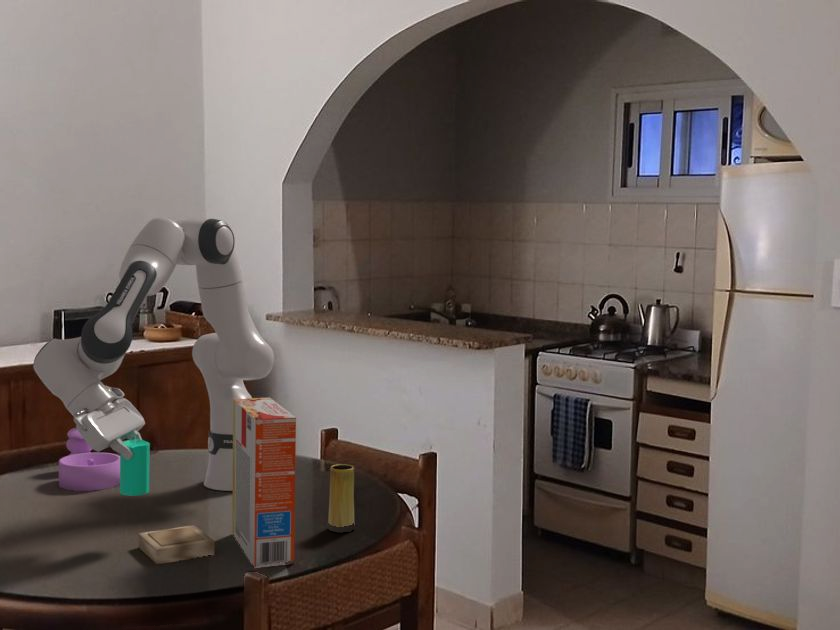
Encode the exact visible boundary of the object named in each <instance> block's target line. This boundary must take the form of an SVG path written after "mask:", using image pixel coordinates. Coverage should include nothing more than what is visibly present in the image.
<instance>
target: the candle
mask: <svg viewBox="0 0 840 630" xmlns="http://www.w3.org/2000/svg"><path fill="white" fill-rule="evenodd" d="M139 442H140V443H139ZM122 443H123V444H124V445H125V446H127V447H128V448H130V449H131V450H132V451H133V452H134V456H132V457H131V458H130V459H129V460H127V459H125V457H124V456H123V455H122V454H120V453H119V454H120V455H119V456H120V485H119V493H120V495H124V496H130V497H133V496H143V495H147V494H148V493H149V492H150V456H151V455H150V454H151V453H150V449H151V448H150V447H151V443H150V442H148V441H146V440H144V439H142V440H139V439H134V440H129V439H127V440H122Z"/></svg>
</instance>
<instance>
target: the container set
mask: <svg viewBox="0 0 840 630" xmlns="http://www.w3.org/2000/svg"><path fill="white" fill-rule="evenodd" d="M76 425H77V424H76V423H75V426H76ZM66 435H67V437H68V439H67V441H66V445H65V446H66V448H67V450H68V451H69V452H71V453H69V454H68V455H66V456H62V457H61V458H59V460H58V486H59V488H61V489H62V488H63V490H65V489H66V491H70V490H74V491H73V492H94V491H93V490H98V491H102V490H101V489H105V490H107V489H106V488H109V489H112V488H111V487H113V488H115V487H114V486H116V487H118V486H119V485H118V484H120V455H118V454H116V453H111V452H91V451H92V450H93V449H92V448H91V447H90V446H89V445H88V443H87V442H86V441H85V440H84V438H83V437H82V436H81V434H80V433H79V432H78V430H77V428H76V427H74V428H71V429H70V430H68V432H67V434H66ZM117 485H118V486H117Z"/></svg>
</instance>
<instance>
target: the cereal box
mask: <svg viewBox="0 0 840 630" xmlns="http://www.w3.org/2000/svg"><path fill="white" fill-rule="evenodd" d="M296 437H297V417H296V416H295V415H293V414H292V413H291V412H290V411H288V410H287V409H286V408H284V406H282V405H281V404H279V403H278V402H277V401H275V399H272V398H271V397H252V398H247V399H233V491H232V501H231V502H232V503H231V504H232V505H231V507H232V512H231V513H232V515H231V516H232V517H231V519H232V520H231V521H232V523H231V527H232V530H231V533H233V535H234V536H233V535H232V536H233V538H234V537H235V538H236V539H235V538H234V539H235V541H236V540H237V541H238V543H239V544H240V546H241V547H242V549H243V550H244V552H245V553H246V555H247V556H248V558H249V559H250V561H251V562H252V564H253V565H254V567H256V566H261V565H267V564H274V563H280V562H288V561H294V562H295V534H296V533H295V530H296V529H295V527H296V526H295V525H296V524H295V523H296V521H295V520H296V519H295V517H296V514H295V513H296V457H297V456H296V449H297V447H296V444H297V443H296V442H297V438H296ZM237 541H236V542H237ZM238 543H237V544H238ZM239 544H238V545H239ZM240 546H239V547H240ZM241 547H240V548H241ZM242 549H241V550H242ZM243 550H242V551H243ZM244 552H243V553H244ZM246 555H245V556H246ZM248 558H247V559H248ZM250 561H249V562H250ZM252 564H251V565H252Z"/></svg>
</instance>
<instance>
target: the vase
mask: <svg viewBox="0 0 840 630" xmlns="http://www.w3.org/2000/svg"><path fill="white" fill-rule="evenodd" d="M329 475H330V476H329V499H328V500H329V501H328V503H329V504H328V516H327V517H328V518H327V519H328V521H327V524H328V523H329V524H330V525H332V526H336V527H344V526H349V525H352V524H353V523H354V524H355V503H354V502H355V501H354V500H355V499H354V498H355V497H354V495H355V494H354V493H355V492H354V491H355V489H354V488H355V467H354V465H352V464H347V463H346V464H345V463H344V464H342V463H341V464H338V463H337V464H333V465H331V466H330V474H329Z"/></svg>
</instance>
